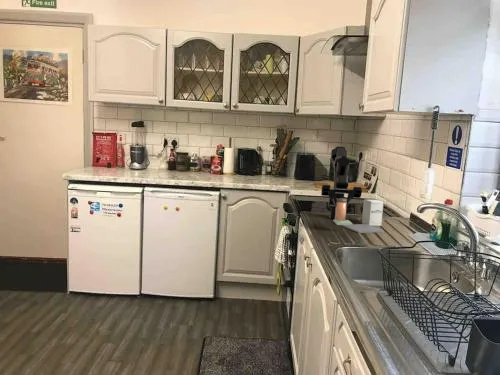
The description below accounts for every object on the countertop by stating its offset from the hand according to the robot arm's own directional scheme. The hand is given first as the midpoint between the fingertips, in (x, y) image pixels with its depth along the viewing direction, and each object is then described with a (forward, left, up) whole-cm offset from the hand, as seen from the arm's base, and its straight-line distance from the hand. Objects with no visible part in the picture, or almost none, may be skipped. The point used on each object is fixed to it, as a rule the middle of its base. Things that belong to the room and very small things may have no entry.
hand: (341, 205), depth 205 cm
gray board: (-7, +13, -12) cm, 19 cm away
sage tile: (-19, +6, -12) cm, 23 cm away
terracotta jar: (-1, 0, -7) cm, 7 cm away
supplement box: (-19, +21, -13) cm, 31 cm away
